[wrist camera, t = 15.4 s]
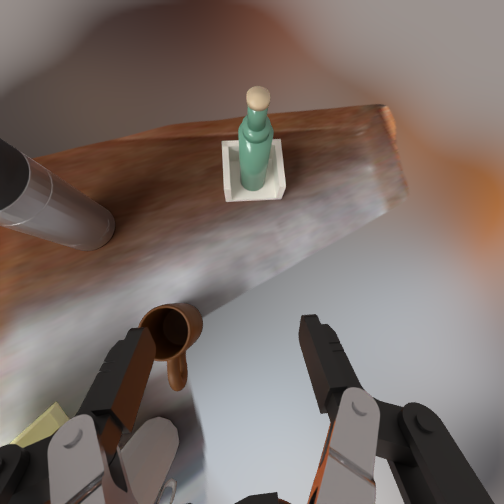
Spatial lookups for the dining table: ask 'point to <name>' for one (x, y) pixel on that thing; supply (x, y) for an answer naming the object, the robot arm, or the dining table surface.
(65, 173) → the dining table surface
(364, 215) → the dining table surface
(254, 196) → the holder
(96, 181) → the dining table surface
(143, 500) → the water bottle
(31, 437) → the slatted curved stool
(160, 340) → the mug
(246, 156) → the green bottle
